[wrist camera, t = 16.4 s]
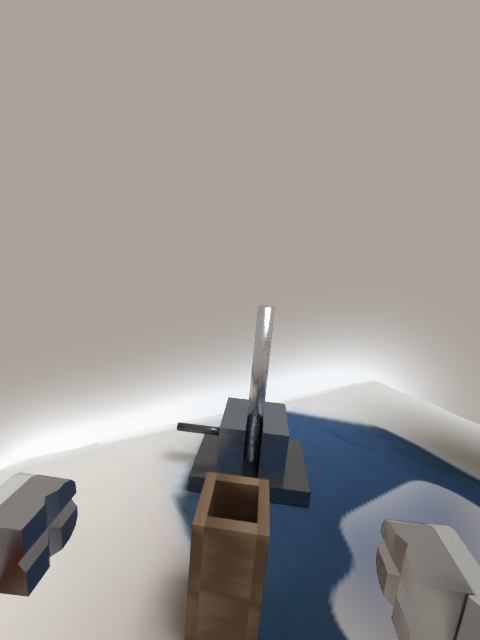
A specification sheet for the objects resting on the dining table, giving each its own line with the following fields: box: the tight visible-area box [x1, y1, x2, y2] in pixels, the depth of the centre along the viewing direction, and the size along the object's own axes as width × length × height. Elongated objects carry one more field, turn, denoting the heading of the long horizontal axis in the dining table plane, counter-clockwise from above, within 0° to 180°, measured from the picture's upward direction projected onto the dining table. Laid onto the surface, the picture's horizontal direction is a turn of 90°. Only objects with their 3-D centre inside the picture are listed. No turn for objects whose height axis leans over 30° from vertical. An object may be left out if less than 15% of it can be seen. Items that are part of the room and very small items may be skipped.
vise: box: [177, 305, 311, 508], centre depth 37 cm, size 17×10×22 cm, turn 85°
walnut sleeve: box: [185, 472, 270, 640], centre depth 22 cm, size 5×5×10 cm
